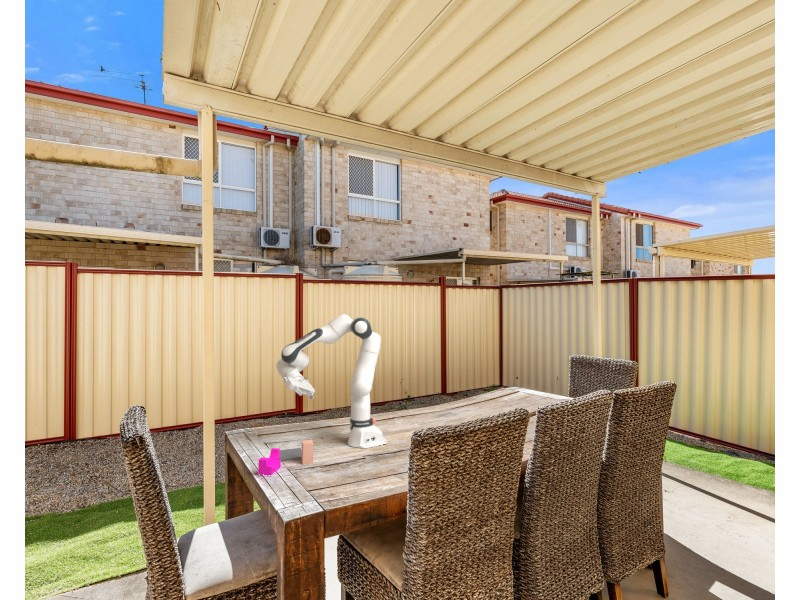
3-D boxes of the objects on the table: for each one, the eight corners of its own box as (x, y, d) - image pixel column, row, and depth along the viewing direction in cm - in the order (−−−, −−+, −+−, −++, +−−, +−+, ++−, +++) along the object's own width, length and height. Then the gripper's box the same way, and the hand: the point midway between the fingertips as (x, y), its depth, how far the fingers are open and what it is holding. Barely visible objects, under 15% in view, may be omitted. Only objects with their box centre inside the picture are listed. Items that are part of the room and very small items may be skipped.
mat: (300, 449, 213) (300, 447, 213) (303, 458, 200) (303, 457, 200) (273, 452, 208) (273, 450, 208) (275, 462, 195) (275, 460, 195)
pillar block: (311, 459, 199) (311, 439, 199) (313, 463, 194) (313, 442, 194) (301, 460, 197) (301, 440, 197) (302, 464, 192) (303, 443, 192)
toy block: (271, 476, 178) (271, 460, 178) (258, 476, 179) (258, 459, 179) (284, 464, 193) (284, 448, 193) (272, 463, 194) (272, 448, 194)
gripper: (285, 371, 208) (298, 387, 200) (309, 380, 224) (322, 395, 216) (278, 380, 207) (290, 397, 199) (302, 388, 224) (314, 404, 216)
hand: (307, 396), depth 208 cm, fingers open, 8 cm apart
